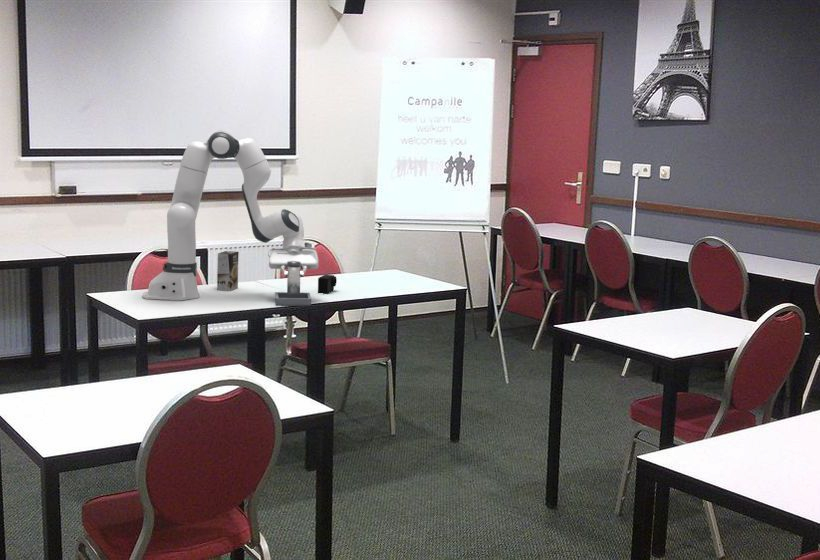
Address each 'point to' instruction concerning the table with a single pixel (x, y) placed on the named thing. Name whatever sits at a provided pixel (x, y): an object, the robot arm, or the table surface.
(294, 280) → the shaker
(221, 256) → the coffee box
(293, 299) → the tray
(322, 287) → the digital camera
